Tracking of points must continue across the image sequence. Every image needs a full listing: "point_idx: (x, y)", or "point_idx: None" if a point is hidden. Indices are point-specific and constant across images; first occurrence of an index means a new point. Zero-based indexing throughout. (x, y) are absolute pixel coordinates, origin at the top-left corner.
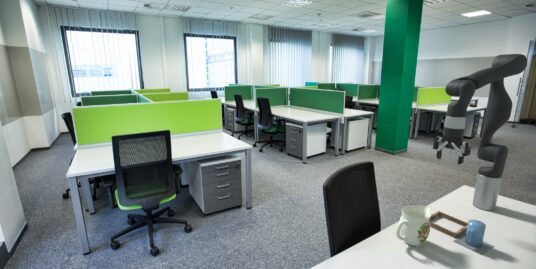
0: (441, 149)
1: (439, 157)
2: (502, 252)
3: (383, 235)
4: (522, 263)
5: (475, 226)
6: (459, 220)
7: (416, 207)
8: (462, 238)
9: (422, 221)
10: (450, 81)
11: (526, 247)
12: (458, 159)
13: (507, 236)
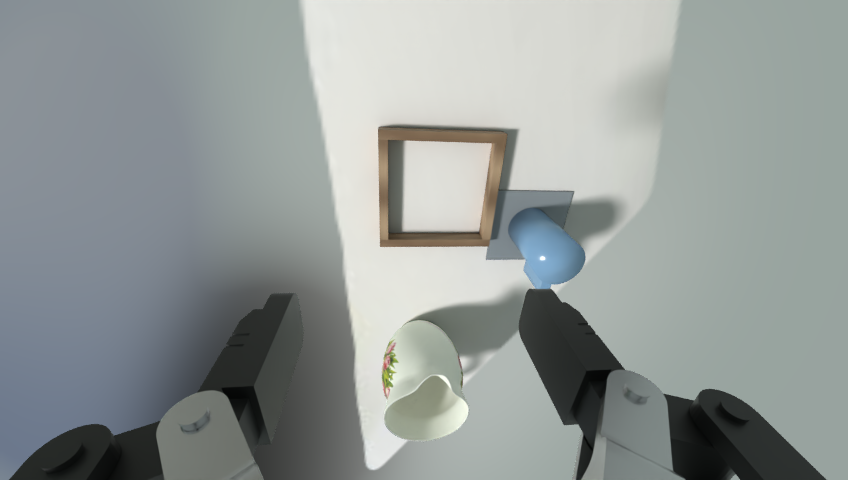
0: (229, 436)
1: (295, 346)
2: (593, 202)
3: (363, 367)
4: (632, 213)
5: (558, 282)
6: (465, 141)
7: (408, 390)
8: (500, 226)
9: (457, 417)
10: None
11: (652, 108)
12: (545, 380)
13: (605, 77)
